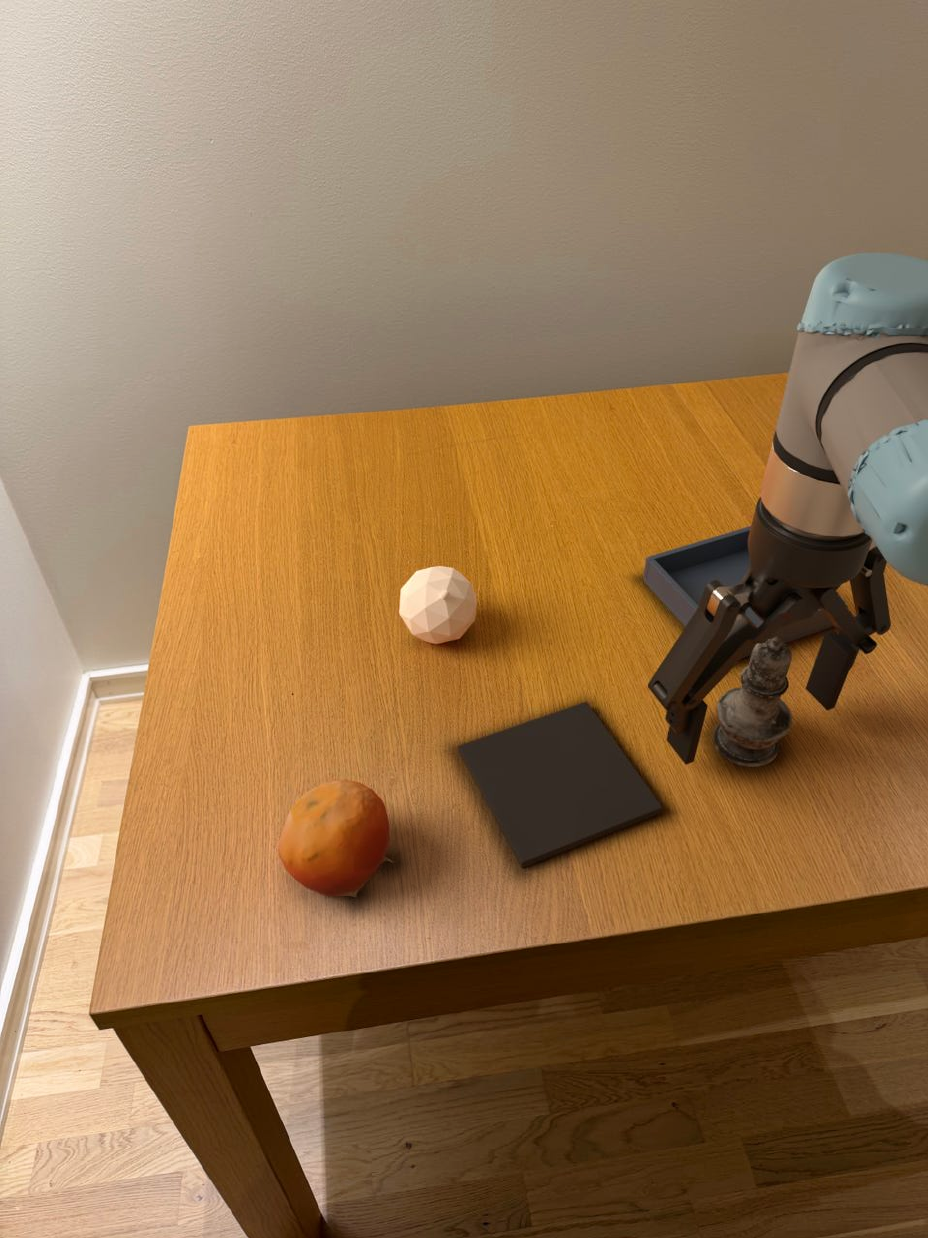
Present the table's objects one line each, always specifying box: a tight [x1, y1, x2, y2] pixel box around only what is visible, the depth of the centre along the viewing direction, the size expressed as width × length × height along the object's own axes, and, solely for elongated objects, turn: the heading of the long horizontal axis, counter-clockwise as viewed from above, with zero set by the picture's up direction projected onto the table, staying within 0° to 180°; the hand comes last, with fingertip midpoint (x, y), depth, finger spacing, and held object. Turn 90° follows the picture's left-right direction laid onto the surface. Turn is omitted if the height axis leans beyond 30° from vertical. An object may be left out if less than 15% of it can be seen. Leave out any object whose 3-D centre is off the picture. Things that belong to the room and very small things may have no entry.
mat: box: [457, 701, 663, 869], centre depth 71 cm, size 12×12×1 cm
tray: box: [642, 525, 847, 659], centre depth 85 cm, size 13×13×3 cm
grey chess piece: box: [712, 637, 793, 768], centre depth 69 cm, size 6×6×12 cm
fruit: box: [277, 778, 394, 899], centre depth 64 cm, size 8×8×8 cm
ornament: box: [398, 565, 478, 645], centre depth 81 cm, size 7×7×8 cm
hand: (751, 724), depth 72 cm, fingers open, 13 cm apart
